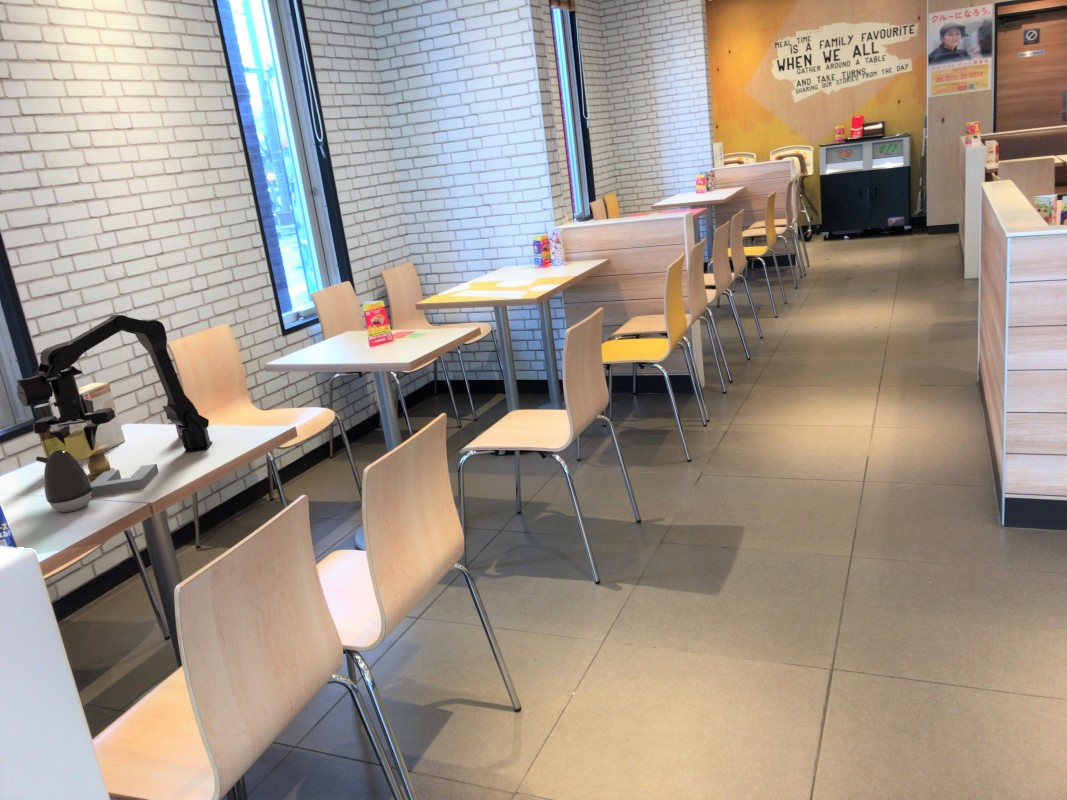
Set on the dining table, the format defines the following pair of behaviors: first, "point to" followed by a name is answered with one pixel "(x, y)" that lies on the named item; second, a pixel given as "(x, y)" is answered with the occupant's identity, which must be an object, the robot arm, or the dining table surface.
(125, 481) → the gray u-shaped block
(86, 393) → the coffeecake box
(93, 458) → the ball
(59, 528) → the dining table surface
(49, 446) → the sauce bottle
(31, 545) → the dining table surface
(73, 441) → the tab
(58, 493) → the pump dispenser
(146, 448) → the dining table surface
